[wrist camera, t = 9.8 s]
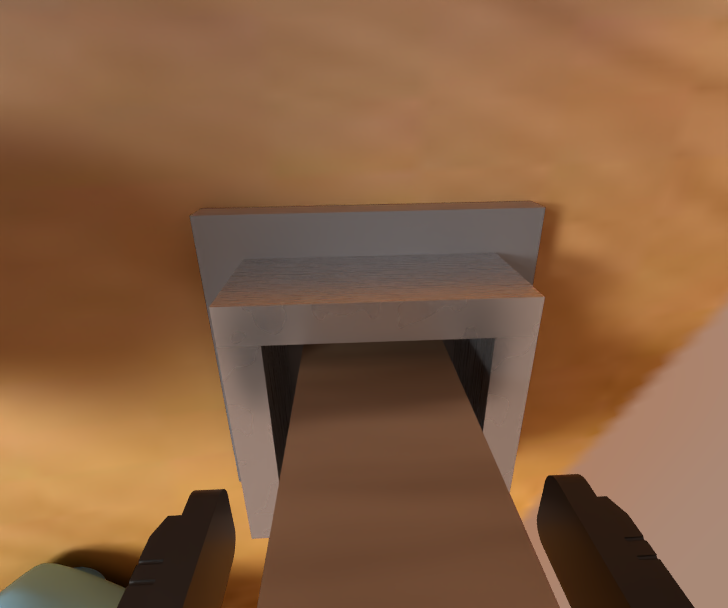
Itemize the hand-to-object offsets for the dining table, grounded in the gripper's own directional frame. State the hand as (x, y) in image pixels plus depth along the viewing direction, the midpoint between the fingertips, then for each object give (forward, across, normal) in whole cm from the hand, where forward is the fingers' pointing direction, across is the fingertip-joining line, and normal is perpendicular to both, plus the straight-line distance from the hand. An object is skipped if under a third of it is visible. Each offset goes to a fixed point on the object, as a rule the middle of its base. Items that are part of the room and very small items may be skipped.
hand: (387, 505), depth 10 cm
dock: (+8, 0, 0) cm, 8 cm away
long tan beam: (+7, 0, 0) cm, 7 cm away
